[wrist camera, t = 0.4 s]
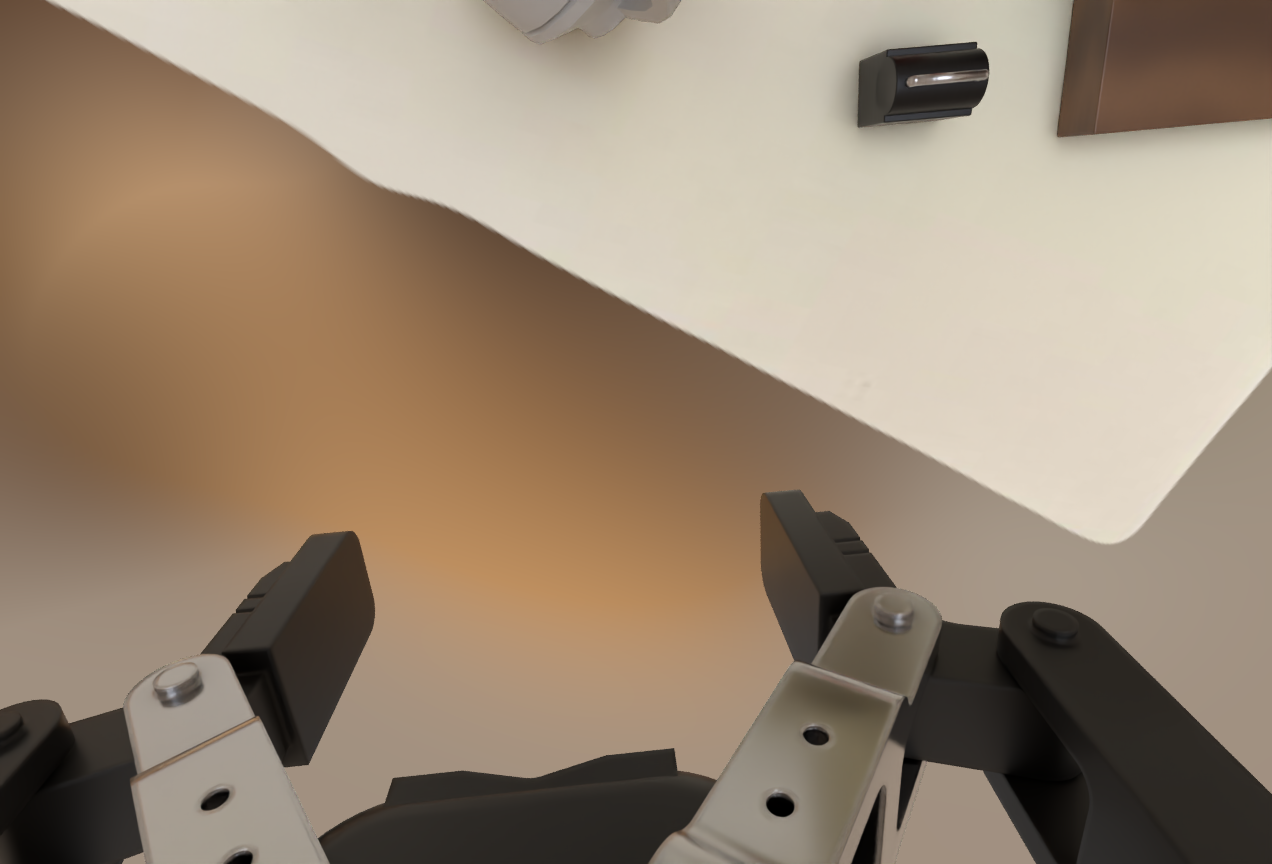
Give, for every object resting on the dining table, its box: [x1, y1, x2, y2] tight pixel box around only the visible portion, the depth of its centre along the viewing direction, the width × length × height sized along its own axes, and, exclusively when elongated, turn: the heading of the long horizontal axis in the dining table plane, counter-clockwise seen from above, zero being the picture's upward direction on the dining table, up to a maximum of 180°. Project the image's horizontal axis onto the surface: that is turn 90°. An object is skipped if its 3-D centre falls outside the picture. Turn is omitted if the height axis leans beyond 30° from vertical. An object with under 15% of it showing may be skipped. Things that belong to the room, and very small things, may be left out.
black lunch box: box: [858, 42, 989, 127], centre depth 34 cm, size 3×4×6 cm
